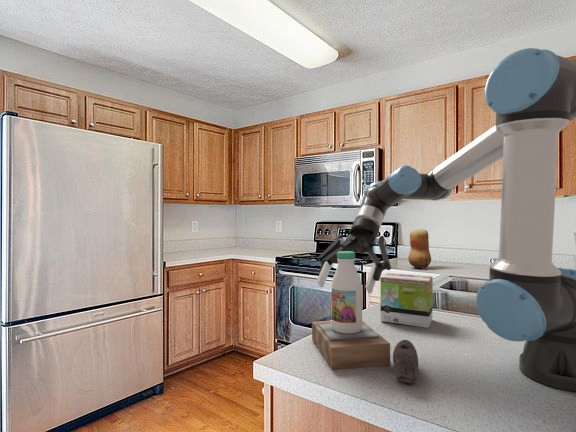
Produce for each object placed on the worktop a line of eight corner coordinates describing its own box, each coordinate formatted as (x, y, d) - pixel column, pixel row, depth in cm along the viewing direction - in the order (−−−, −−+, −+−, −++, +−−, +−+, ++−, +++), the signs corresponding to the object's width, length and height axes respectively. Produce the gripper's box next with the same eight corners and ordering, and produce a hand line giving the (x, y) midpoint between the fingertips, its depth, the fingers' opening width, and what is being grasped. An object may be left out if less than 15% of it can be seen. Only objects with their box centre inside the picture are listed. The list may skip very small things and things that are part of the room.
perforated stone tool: (395, 359, 87) (394, 330, 87) (418, 361, 85) (417, 332, 85) (391, 387, 73) (390, 353, 73) (418, 391, 71) (418, 356, 71)
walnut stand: (390, 364, 83) (390, 341, 83) (331, 369, 81) (331, 345, 81) (359, 336, 103) (359, 317, 103) (312, 339, 101) (311, 320, 101)
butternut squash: (404, 268, 228) (403, 229, 228) (415, 266, 237) (415, 228, 237) (424, 271, 217) (424, 229, 217) (435, 268, 226) (435, 228, 226)
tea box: (380, 322, 116) (379, 276, 116) (386, 314, 125) (386, 272, 125) (429, 328, 109) (429, 280, 109) (433, 320, 118) (432, 275, 118)
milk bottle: (343, 323, 98) (342, 249, 97) (368, 329, 92) (367, 251, 92) (325, 329, 92) (324, 252, 92) (350, 337, 87) (349, 254, 87)
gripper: (414, 235, 97) (395, 302, 85) (332, 233, 112) (307, 290, 100) (407, 215, 93) (387, 283, 81) (323, 216, 108) (295, 273, 96)
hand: (342, 287), depth 90 cm, fingers open, 13 cm apart
